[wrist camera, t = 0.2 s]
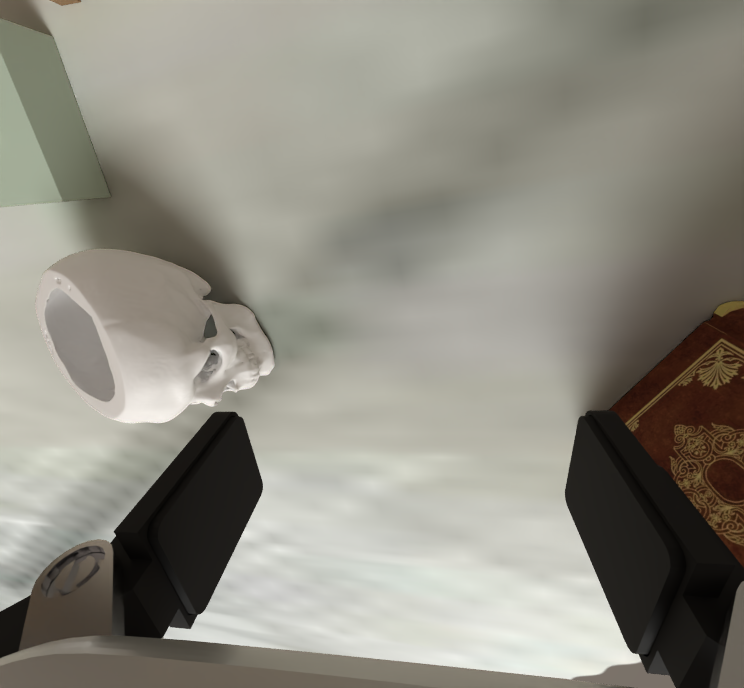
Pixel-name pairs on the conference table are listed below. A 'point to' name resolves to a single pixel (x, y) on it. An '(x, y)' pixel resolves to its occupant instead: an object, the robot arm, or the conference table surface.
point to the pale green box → (41, 125)
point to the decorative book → (699, 420)
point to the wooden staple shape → (65, 2)
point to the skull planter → (145, 335)
